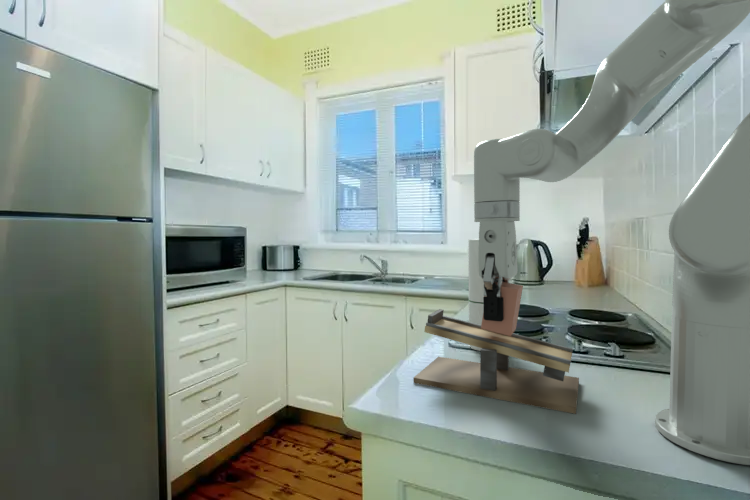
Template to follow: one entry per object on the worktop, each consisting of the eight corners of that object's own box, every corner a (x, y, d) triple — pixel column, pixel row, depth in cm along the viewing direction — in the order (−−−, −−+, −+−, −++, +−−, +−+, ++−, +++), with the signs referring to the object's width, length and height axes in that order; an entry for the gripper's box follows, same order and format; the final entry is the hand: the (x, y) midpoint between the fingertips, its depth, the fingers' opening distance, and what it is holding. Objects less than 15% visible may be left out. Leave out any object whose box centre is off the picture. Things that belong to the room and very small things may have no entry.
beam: (569, 368, 68) (574, 340, 68) (566, 384, 61) (572, 354, 61) (437, 332, 80) (441, 308, 79) (422, 342, 73) (426, 316, 72)
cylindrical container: (504, 351, 89) (504, 239, 87) (472, 351, 89) (472, 239, 87) (495, 342, 96) (495, 238, 94) (465, 342, 96) (465, 238, 95)
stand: (578, 383, 70) (579, 341, 70) (575, 413, 59) (576, 363, 58) (438, 361, 83) (438, 325, 82) (413, 382, 71) (413, 341, 71)
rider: (515, 329, 71) (522, 285, 70) (510, 336, 66) (518, 289, 65) (487, 322, 73) (494, 280, 72) (480, 328, 69) (487, 283, 68)
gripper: (509, 210, 60) (510, 330, 60) (526, 213, 74) (527, 309, 75) (460, 212, 63) (462, 325, 64) (486, 215, 78) (487, 306, 79)
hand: (497, 315), depth 70 cm, fingers closed on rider, 5 cm apart
